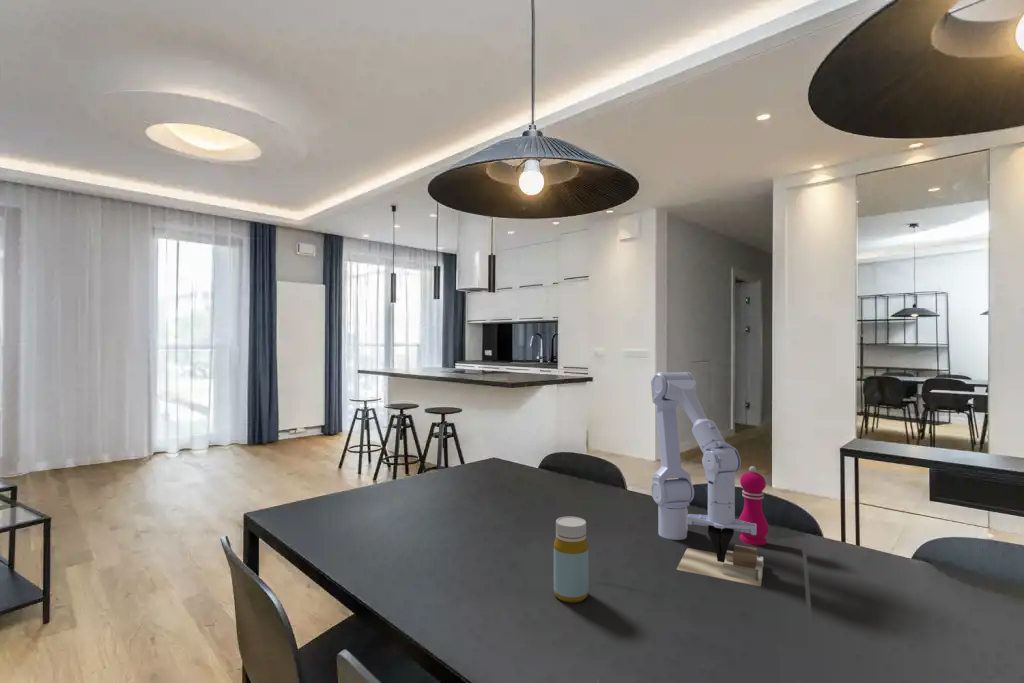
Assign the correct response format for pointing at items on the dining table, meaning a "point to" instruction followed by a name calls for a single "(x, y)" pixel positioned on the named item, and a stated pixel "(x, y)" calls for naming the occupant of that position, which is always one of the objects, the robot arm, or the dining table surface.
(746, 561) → the block
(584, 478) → the dining table surface
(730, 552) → the board
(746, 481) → the pepper mill
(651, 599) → the dining table surface
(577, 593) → the bottle
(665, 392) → the robot arm
